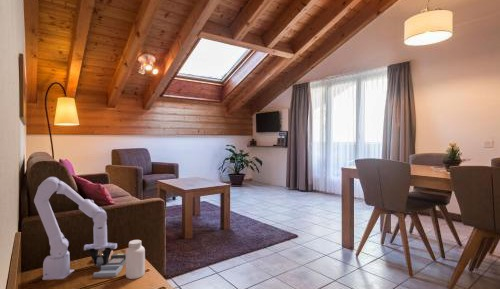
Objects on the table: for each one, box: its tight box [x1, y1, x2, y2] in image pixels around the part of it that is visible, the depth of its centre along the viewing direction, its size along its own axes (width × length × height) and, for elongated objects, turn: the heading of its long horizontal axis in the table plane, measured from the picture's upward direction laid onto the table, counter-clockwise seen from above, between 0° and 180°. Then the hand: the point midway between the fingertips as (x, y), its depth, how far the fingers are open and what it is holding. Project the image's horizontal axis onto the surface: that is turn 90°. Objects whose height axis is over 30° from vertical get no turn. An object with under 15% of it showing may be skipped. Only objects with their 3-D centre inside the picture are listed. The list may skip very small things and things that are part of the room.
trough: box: [92, 265, 124, 279], centre depth 128 cm, size 10×8×2 cm
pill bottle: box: [125, 239, 146, 280], centre depth 126 cm, size 8×8×15 cm
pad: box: [109, 258, 124, 265], centre depth 137 cm, size 5×5×1 cm
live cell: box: [95, 254, 105, 269], centre depth 135 cm, size 4×4×6 cm
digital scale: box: [104, 253, 126, 267], centre depth 137 cm, size 10×8×3 cm
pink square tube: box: [98, 249, 114, 261], centre depth 143 cm, size 7×7×3 cm
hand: (101, 263), depth 135 cm, fingers open, 4 cm apart
